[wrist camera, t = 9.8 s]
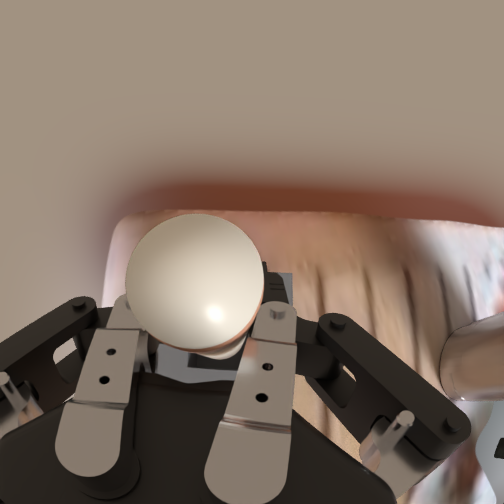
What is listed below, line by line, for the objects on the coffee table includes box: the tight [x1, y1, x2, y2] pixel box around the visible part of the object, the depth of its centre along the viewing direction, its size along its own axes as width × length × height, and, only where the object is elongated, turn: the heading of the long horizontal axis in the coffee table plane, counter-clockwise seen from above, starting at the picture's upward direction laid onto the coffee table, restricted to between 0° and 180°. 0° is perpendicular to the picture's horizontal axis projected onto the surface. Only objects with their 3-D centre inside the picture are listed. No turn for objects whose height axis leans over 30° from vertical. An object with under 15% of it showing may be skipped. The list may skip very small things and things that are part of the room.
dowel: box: [125, 214, 264, 360], centre depth 12 cm, size 3×3×12 cm
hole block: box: [157, 272, 293, 383], centre depth 22 cm, size 10×10×6 cm
